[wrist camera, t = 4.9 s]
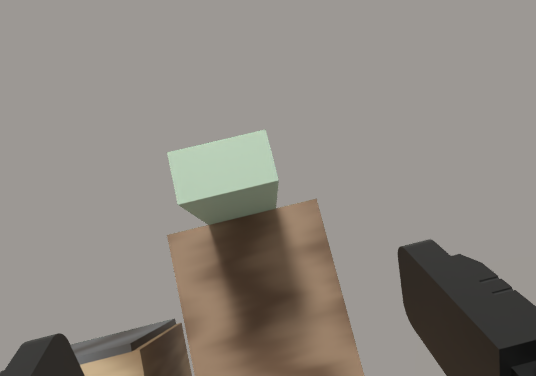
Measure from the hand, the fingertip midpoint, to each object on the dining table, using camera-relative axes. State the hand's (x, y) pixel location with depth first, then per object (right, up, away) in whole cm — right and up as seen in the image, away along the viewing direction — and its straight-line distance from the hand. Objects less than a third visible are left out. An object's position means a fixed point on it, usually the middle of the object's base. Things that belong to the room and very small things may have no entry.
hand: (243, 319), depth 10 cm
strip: (-1, +1, +20) cm, 20 cm away
